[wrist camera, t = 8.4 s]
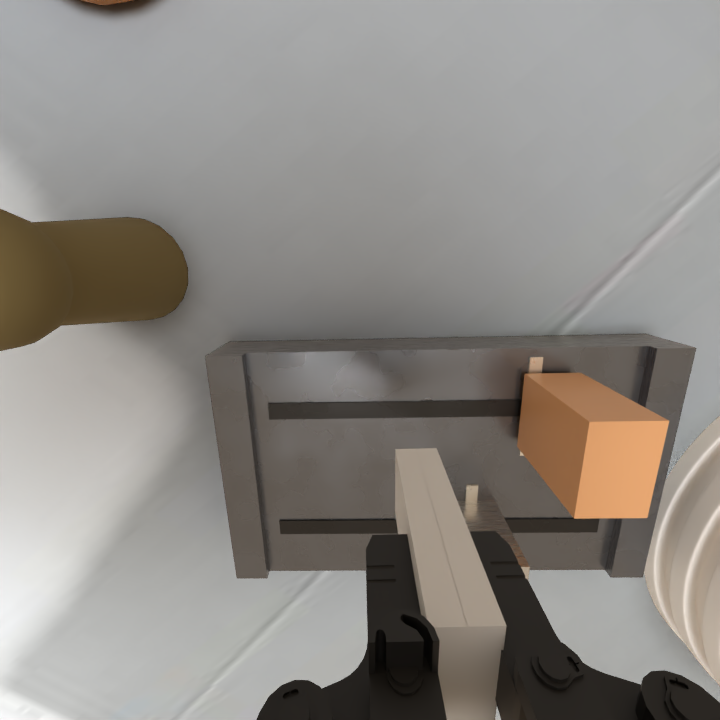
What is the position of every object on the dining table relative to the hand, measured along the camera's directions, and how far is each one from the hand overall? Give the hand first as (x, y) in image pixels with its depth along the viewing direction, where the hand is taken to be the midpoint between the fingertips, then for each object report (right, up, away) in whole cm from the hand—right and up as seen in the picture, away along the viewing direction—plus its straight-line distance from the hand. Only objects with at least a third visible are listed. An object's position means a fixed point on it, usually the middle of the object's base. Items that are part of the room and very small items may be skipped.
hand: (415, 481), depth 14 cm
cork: (-15, +10, +9) cm, 20 cm away
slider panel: (+3, -1, +11) cm, 12 cm away
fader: (+8, +2, +7) cm, 11 cm away
